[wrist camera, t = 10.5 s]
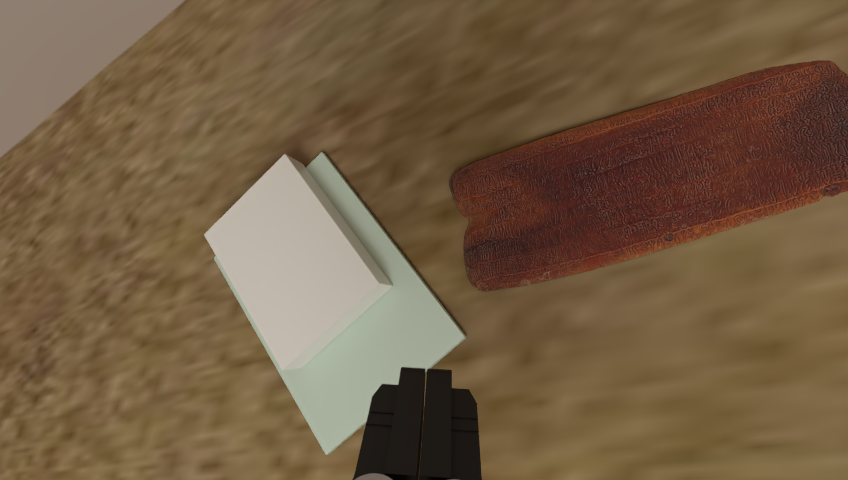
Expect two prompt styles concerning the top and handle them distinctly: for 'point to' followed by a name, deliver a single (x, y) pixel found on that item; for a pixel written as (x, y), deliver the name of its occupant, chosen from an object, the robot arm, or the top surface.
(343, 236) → the white rectangular block
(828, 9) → the top surface
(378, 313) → the cutting board
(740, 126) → the wooden tablet
